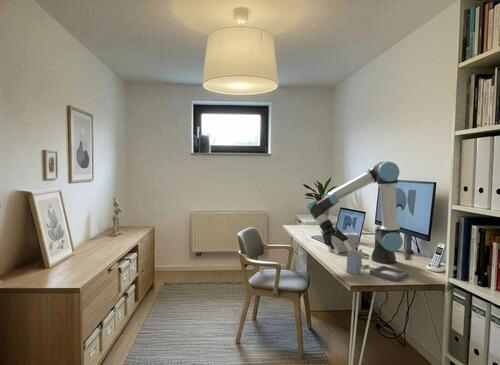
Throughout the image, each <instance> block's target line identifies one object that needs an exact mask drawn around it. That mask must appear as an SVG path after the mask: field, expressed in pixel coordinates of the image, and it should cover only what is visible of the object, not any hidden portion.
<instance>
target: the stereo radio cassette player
mask: <svg viewBox="0 0 500 365" xmlns="http://www.w3.org/2000/svg"><path fill="white" fill-rule="evenodd" d="M332 224H333V223H332ZM333 226H335V227H337V228H338V229H339V230H341V231H343V232H342V233H343V234H344V235H345V236H346V237H347V238H348V239H347V241H348V243H349V244H350V246H351V247H352V250H357V252H359V240H360V234H359V233H357V232H348V231H347V230H345V229H343V228H340V227H339V226H337V225H335V224H333ZM331 238H332V243H333V244H334V245H335V246H336V248H337V249H338V251H339V253H347V252H348V249H347V248H346V246H345V245H344V244H343V241H341V240H340V239H338V238H337V237H335V236H331ZM327 249H328V250H329V252H331V253H334V252H333V250H332V249H331V248H330V246H327ZM352 250H351V251H352Z"/></svg>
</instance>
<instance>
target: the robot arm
mask: <svg viewBox="0 0 500 365" xmlns="http://www.w3.org/2000/svg"><path fill="white" fill-rule="evenodd" d="M400 173H401V172H400V168H399V166H398V165H397V164H396V163H394V162H393V161H381V162H378V163H376V164H375V165H374V166H372V167H371V168H369V169H367V170H366V171H365V172H364V173H363V174H361V175H359V176H357V177H355V178H354V179H352V180H350V181H348V182H345V183H344V184H342V185H340V186H338V187H336V188H335V189H332V190H331V191H329V192H326V193H324V194H323V195H322V197H321V199H320V200H319V201H317V200H314V199H313V200H312V201H310V202H309V203H308V204H307V207H306V208H307V210H308V211H309V213H310V214H311V216H312V217H313V219H314V220H315V222H316V223H317V225H318V226H319V228H320V229H321V232H320V233H321V234H322V238H323V241H324V244H325V245H326V246H327V247H328V246H330V248H331V249H332V250H333V252H332V253H333V254H334V255H335V256H337V255H338V254H339V253H340V252H339V251H338V249H337V248H336V246H335V245H334V244H333V243H332V238H331V236H335V237H337V238H338V239H340V240H341V241H343V244H344V245H345V246H346V248H347V249H348V251H351V250H352V247H351V246H350V244H349V243H348V241H347V239H348V238H347V237H346V236H345V235H344V234H343V233H344V232H342V230H341V229H339V228H338V226H337V227H336V226H335V227H333V226H334V225H333V222H332V221H331V220H330V218H329V216H328V214H326V212H327V211H328V210H330V209H331V208H332V207H335V206H337V204H339V203H340V201H341V200H342V199H344V198H346V197H347V196H349V195H352V194H353V193H356V192H357V191H359V190H361V189H363V188H365V187H367V186H369V185H370V184H376V183H377V186H379V189H380V190H379V191H380V208H381V211H380V212H381V225H375V229H374V247H373V252H372V254H371V257H370V259H371V260H372V261H374V262H376V263H382V264H395V263H397V257H396V254H395V252H396V251H398V250H400V249H401V248H402V246H403V243H404V241H403V240H404V239H403V237H402V235H401V227H400V226H399V225H398V217H397V216H398V215H397V196H396V195H397V193H396V186H397V185H398V184H399V182H398V181H399V180H398V179H399V175H400ZM340 230H341V231H340Z"/></svg>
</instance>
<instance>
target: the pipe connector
mask: <svg viewBox="0 0 500 365" xmlns="http://www.w3.org/2000/svg"><path fill="white" fill-rule="evenodd" d="M358 252H361V266H363V265H362V264H363V261H362V260H363V259H364V260H370V256H366V255H365V254H363V249H362V248H358Z"/></svg>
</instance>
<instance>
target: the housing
mask: <svg viewBox="0 0 500 365" xmlns="http://www.w3.org/2000/svg"><path fill="white" fill-rule="evenodd" d="M369 275H371V276H375V277H378V278H382V279H385V280H388V281H392V282H399V281H400V280H403V279H405V278H408V277H409V271H406V270H403V269H399V268H396V267H390V266H388V265H387V266H386V265H380V266H378V267H374V268H371V269H370V270H369Z"/></svg>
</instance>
